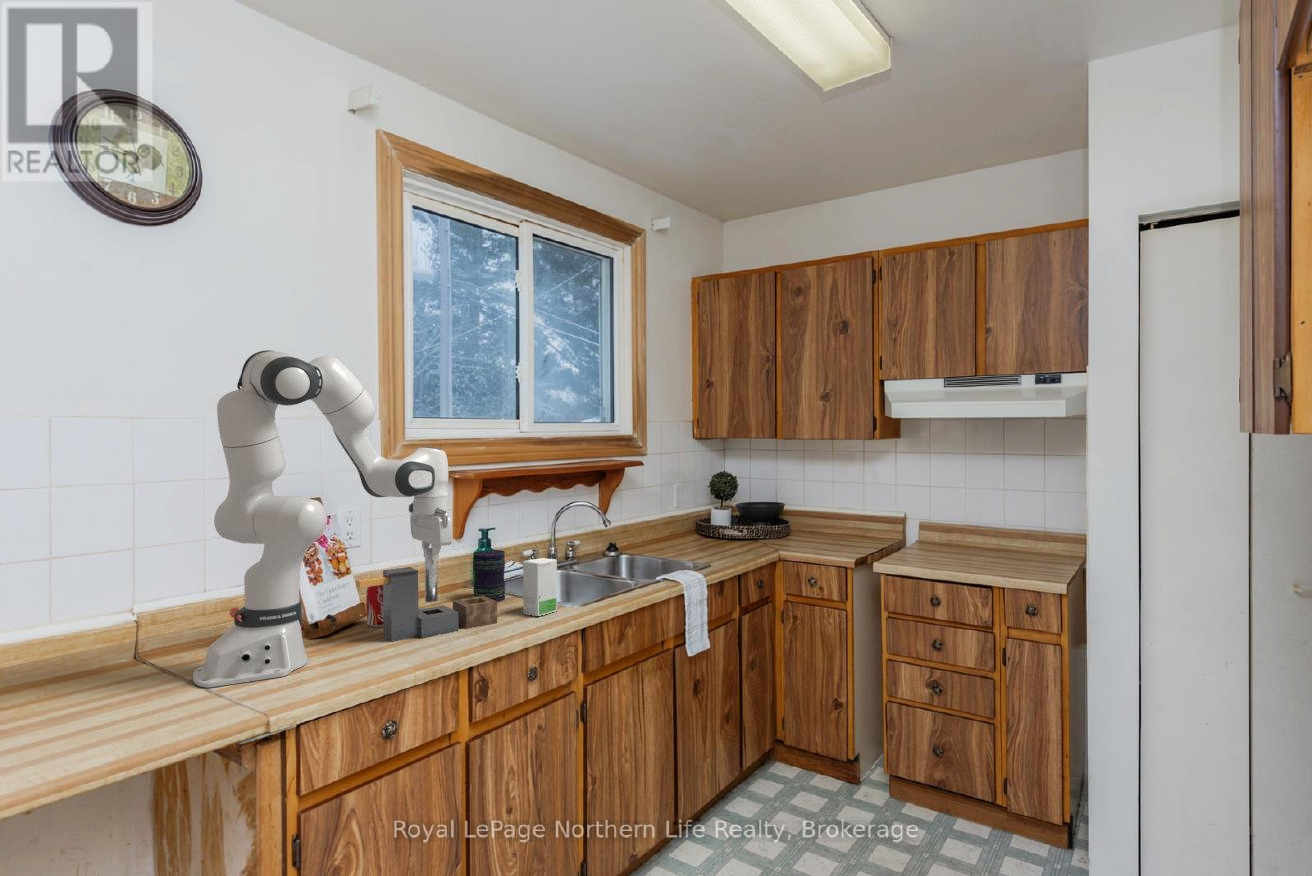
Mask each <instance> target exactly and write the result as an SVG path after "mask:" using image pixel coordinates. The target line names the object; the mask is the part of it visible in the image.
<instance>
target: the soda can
mask: <svg viewBox="0 0 1312 876" xmlns="http://www.w3.org/2000/svg"><path fill="white" fill-rule="evenodd" d="M366 621H367V622H366V623H367V625H368V626H370V627H371V626H372V628H384V611H383V585H377V586H370V587H366Z"/></svg>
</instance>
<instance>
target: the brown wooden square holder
mask: <svg viewBox="0 0 1312 876" xmlns="http://www.w3.org/2000/svg"><path fill="white" fill-rule="evenodd" d="M452 610H454V611H456V612H458V626H460V625H461V626H460V627H462V626H463V627H462V628H463V629H466V630H468V628H469V629H473V628H472V627H474V628H477V626H479V627H482V626H481V625H484V626H488V625H493V623H494V624H498V602H497V601H495V600H492V599H490V598H487V597H485V596H478V597H474V596H472V597H466V598H461V599H455V600H452Z"/></svg>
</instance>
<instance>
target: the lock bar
mask: <svg viewBox="0 0 1312 876" xmlns="http://www.w3.org/2000/svg"><path fill="white" fill-rule="evenodd" d="M384 584H389V577H388V576H386V577H383V576H381V577H380V576H379V577H372V578H364V579H358V580H357V579H356V587H358V588H360V589H362V588H368V587H370V586H377V585H384Z"/></svg>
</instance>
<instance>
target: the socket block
mask: <svg viewBox="0 0 1312 876" xmlns="http://www.w3.org/2000/svg"><path fill="white" fill-rule="evenodd" d="M386 576H388V577H389V584H384V585H383V611H384V627H383V638H385V639H387V640H388V641H390V642H391V643H392V642H393V643H394V642H397V641H398V642H399V641H402V640H403V639H404V640H407V639H408V638H409V639H414V638H420V639H425V638H429V637H436V636H439V635H438V634H441V635H445V634H451V633H455V632H454V631H456V632H459V631H460V630H459V628H460V627H459V625H458V612H456V611H454V610H453V608H450V607H448V606H446V605H444V604H443V605H439V606H438V605H437V606H431V607H426V608H421V609H420V608H419V570H418V569H416V568H413V567H411V566H407V567H400V568H399V567H398V568H393V569H383V570H382V577H386ZM458 630H459V631H458ZM450 632H451V633H450ZM435 635H436V636H435Z"/></svg>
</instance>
